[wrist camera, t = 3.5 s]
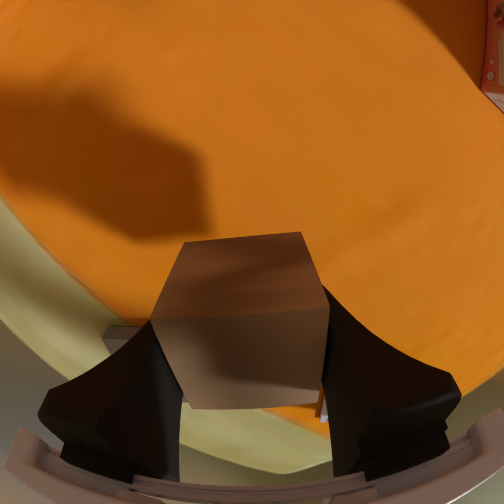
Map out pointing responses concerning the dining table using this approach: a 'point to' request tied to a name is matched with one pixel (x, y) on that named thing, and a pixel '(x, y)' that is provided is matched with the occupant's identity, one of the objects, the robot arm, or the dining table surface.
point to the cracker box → (494, 54)
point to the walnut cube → (244, 322)
